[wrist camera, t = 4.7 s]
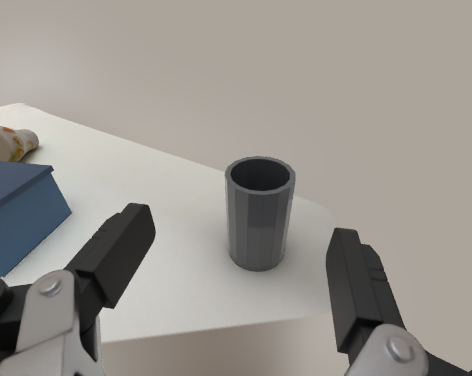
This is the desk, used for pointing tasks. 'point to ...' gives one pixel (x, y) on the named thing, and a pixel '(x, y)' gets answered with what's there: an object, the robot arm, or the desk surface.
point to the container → (27, 210)
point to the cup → (258, 210)
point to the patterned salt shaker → (16, 143)
